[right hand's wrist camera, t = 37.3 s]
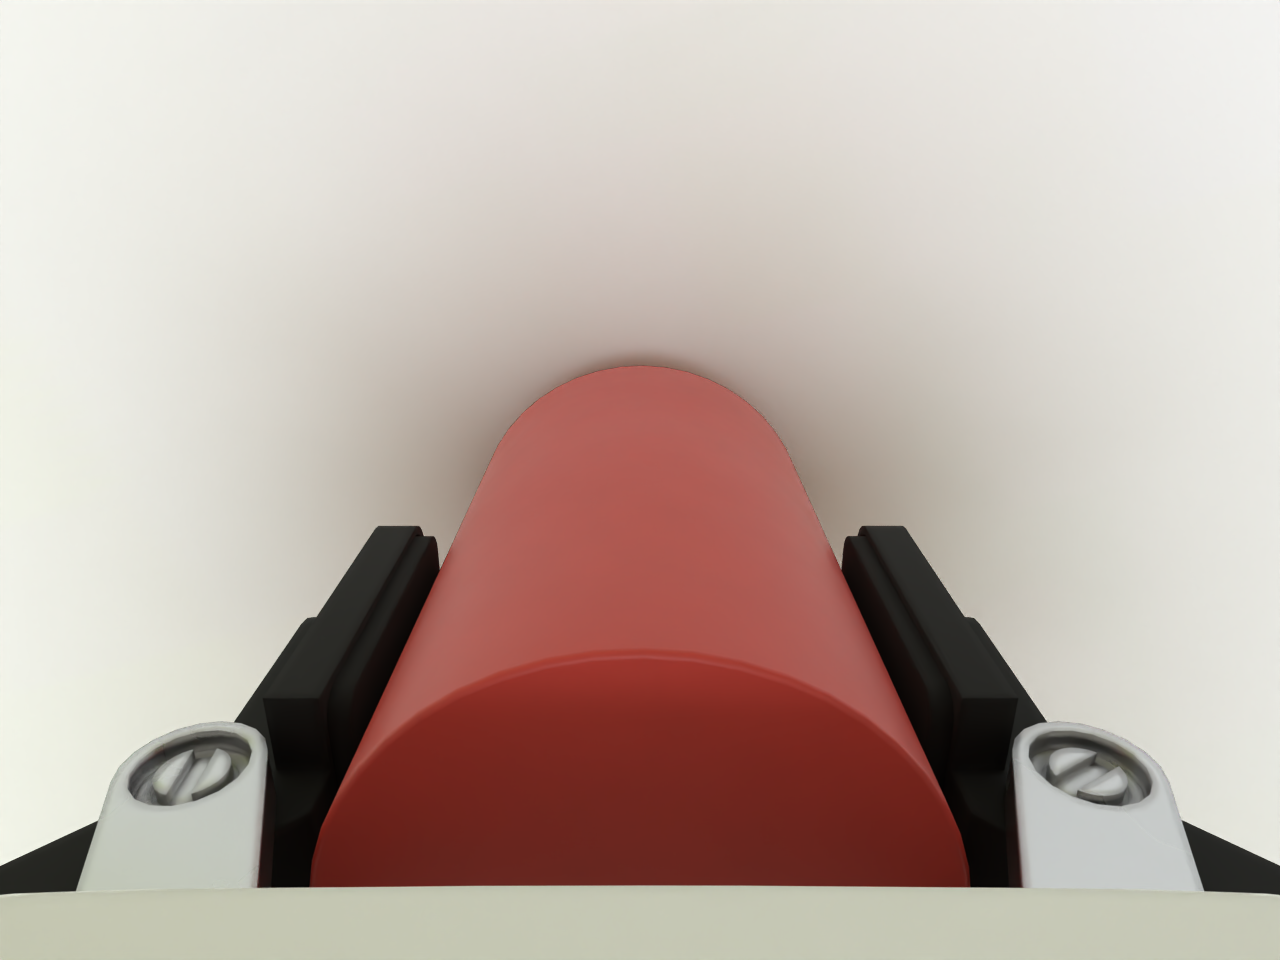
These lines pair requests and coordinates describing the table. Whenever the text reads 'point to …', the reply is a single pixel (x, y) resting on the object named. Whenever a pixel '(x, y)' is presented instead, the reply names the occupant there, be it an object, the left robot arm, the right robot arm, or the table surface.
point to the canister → (640, 675)
